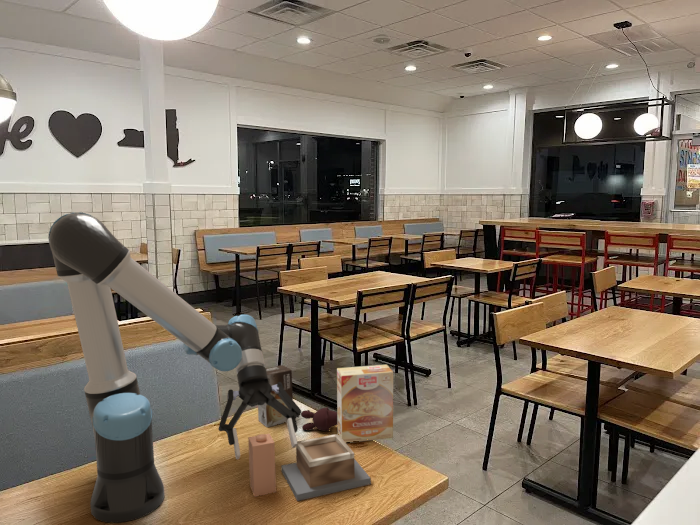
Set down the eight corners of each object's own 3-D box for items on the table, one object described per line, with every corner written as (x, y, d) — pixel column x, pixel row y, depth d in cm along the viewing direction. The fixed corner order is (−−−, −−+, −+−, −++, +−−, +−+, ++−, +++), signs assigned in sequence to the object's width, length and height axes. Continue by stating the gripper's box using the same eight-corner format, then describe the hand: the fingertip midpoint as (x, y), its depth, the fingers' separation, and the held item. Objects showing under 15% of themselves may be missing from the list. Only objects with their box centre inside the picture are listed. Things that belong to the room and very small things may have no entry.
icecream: (352, 403, 157) (302, 407, 158) (350, 406, 150) (298, 410, 150) (354, 427, 156) (304, 431, 157) (352, 431, 149) (300, 435, 149)
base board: (297, 501, 117) (297, 494, 117) (281, 471, 130) (281, 465, 130) (370, 484, 124) (370, 478, 124) (348, 457, 137) (348, 451, 137)
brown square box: (310, 487, 120) (309, 462, 119) (296, 465, 130) (296, 441, 129) (354, 478, 124) (354, 453, 123) (338, 457, 134) (337, 433, 133)
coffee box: (284, 413, 165) (283, 364, 163) (294, 420, 160) (292, 369, 158) (257, 420, 160) (255, 369, 158) (266, 428, 155) (264, 375, 153)
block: (254, 496, 119) (252, 443, 118) (250, 485, 124) (248, 434, 122) (275, 491, 121) (274, 439, 120) (270, 481, 126) (269, 430, 124)
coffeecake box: (341, 444, 145) (340, 375, 142) (336, 432, 151) (336, 367, 149) (394, 438, 148) (394, 371, 145) (387, 427, 155) (386, 363, 152)
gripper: (294, 370, 143) (313, 446, 132) (200, 384, 134) (212, 467, 122) (300, 357, 138) (320, 435, 126) (202, 370, 128) (214, 456, 117)
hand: (267, 451), depth 124 cm, fingers open, 13 cm apart
